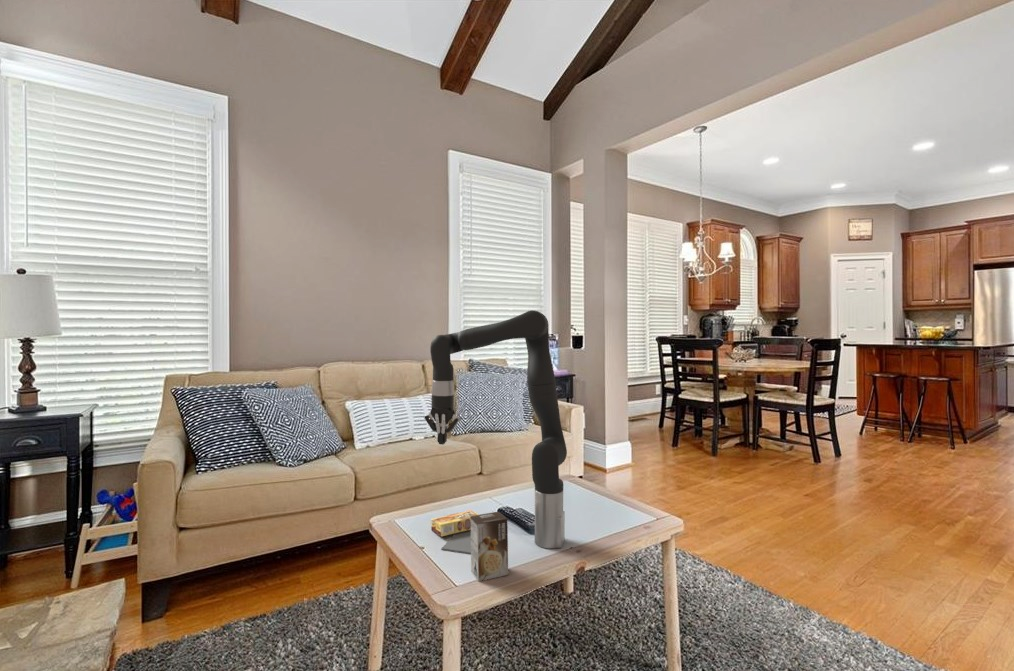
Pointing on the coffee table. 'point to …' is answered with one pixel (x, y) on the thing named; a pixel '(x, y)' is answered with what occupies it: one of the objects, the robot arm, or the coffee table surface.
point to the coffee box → (489, 546)
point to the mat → (459, 543)
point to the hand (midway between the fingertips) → (441, 443)
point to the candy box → (452, 523)
